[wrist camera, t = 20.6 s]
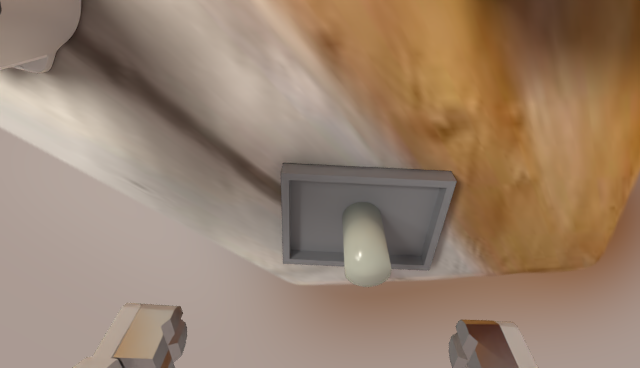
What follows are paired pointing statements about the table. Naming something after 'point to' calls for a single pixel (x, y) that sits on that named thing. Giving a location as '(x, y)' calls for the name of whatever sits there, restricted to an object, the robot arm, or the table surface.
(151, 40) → the table surface
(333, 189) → the grey tray
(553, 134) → the table surface
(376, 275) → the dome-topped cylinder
